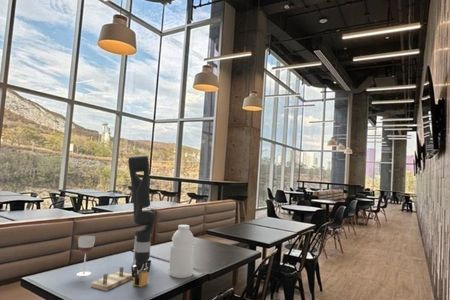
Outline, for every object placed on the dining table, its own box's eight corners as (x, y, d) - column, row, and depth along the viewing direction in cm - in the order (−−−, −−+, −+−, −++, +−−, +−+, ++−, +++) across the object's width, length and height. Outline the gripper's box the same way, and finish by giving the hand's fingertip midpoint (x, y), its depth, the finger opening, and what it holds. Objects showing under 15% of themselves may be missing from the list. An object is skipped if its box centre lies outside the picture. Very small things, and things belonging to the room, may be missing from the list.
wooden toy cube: (139, 281, 162) (139, 270, 163) (147, 283, 161) (148, 272, 161) (132, 285, 158) (133, 273, 158) (141, 287, 156) (142, 275, 156)
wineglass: (75, 271, 172) (79, 235, 174) (92, 270, 175) (95, 235, 177) (74, 276, 165) (77, 239, 166) (92, 275, 168) (95, 238, 169)
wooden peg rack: (118, 274, 171) (119, 263, 172) (133, 278, 168) (133, 267, 168) (90, 286, 153) (91, 274, 153) (106, 290, 149) (107, 278, 150)
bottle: (176, 280, 169) (179, 228, 171) (164, 272, 179) (167, 224, 181) (197, 275, 178) (200, 226, 179) (184, 268, 188) (187, 222, 190)
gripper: (144, 245, 168) (142, 277, 167) (127, 251, 155) (125, 286, 154) (156, 247, 165) (154, 280, 164) (140, 254, 152) (137, 289, 151)
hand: (140, 283), depth 159 cm, fingers closed on wooden toy cube, 5 cm apart
